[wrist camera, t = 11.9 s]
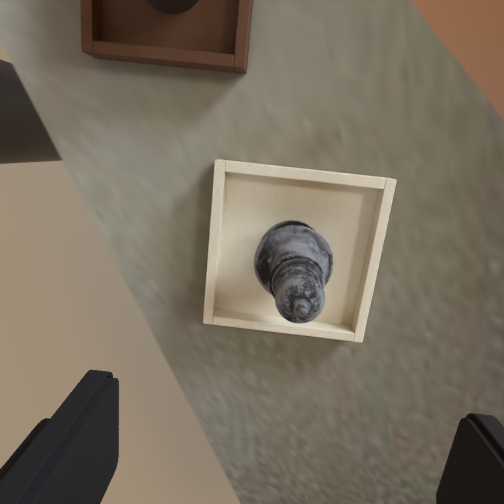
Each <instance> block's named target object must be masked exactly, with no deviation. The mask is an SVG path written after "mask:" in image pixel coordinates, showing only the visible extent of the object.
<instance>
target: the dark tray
mask: <svg viewBox="0 0 504 504" xmlns="http://www.w3.org/2000/svg"><path fill="white" fill-rule="evenodd" d="M252 7H253V0H199V1H198V2H197V3H196V4H195V5H194V6H193V7H192V8H190V9H189V10H187V11H185V12H182V13H178V14H168V13H164V12H161V11H159V10H157V9H155V8H154V7H153V6H151V5H150V4H149V3H148V2H147V0H81V39H82V52H84V53H86V54H88V55H90V56H92V57H94V58H98V59H107V60H117V61H126V62H136V63H146V64H155V65H165V66H174V67H184V68H194V69H203V70H213V71H223V72H232V73H242V74H246V73H247V62H248V51H249V40H250V29H251V18H252Z"/></svg>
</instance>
